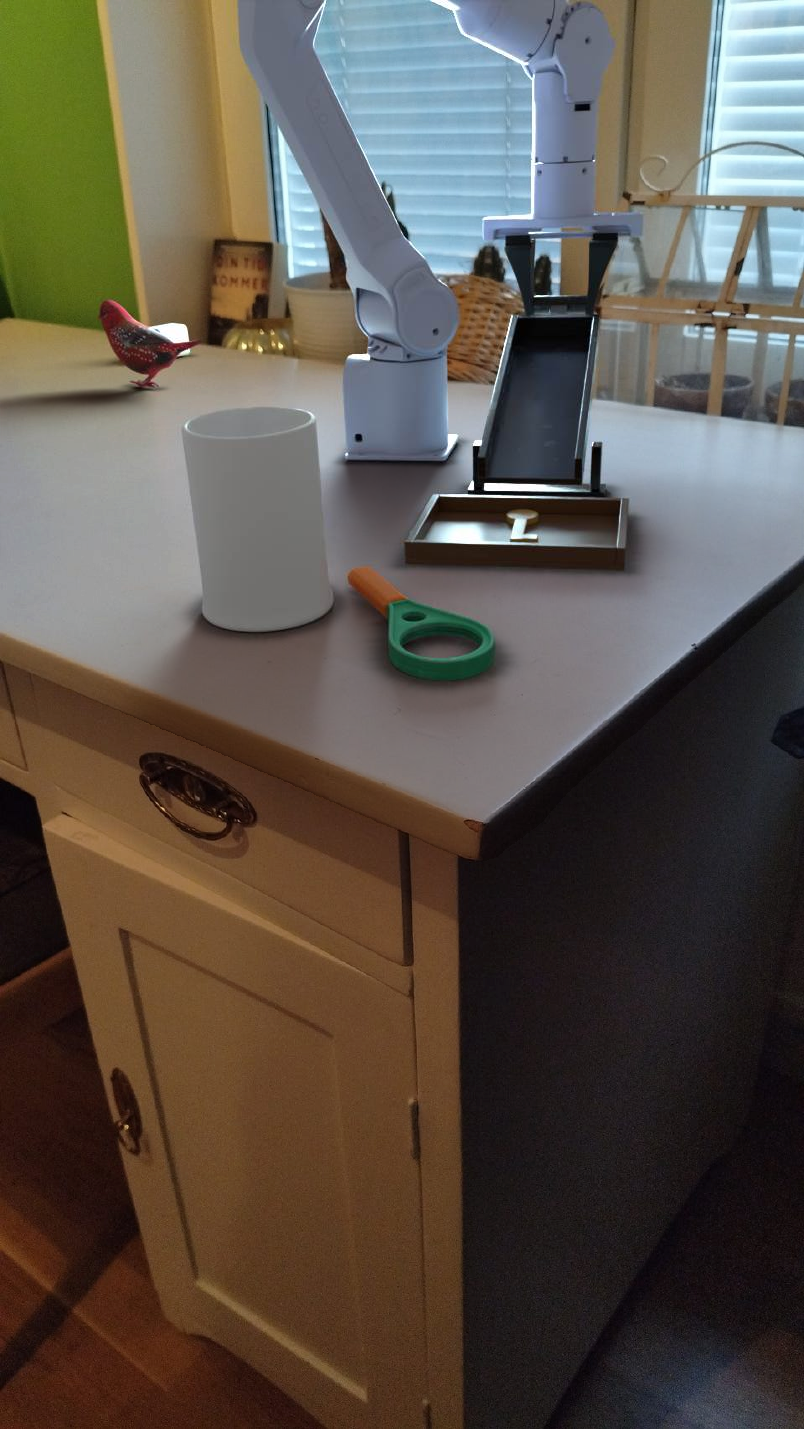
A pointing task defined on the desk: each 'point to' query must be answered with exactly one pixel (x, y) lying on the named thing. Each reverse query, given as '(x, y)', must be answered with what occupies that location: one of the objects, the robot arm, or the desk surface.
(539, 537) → the tray
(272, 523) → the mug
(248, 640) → the desk surface
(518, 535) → the key
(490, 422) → the dark sloped chute
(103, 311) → the decorative bird figurine
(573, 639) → the desk surface
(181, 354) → the usb wall charger
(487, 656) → the magnifying glass
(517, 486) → the stand
